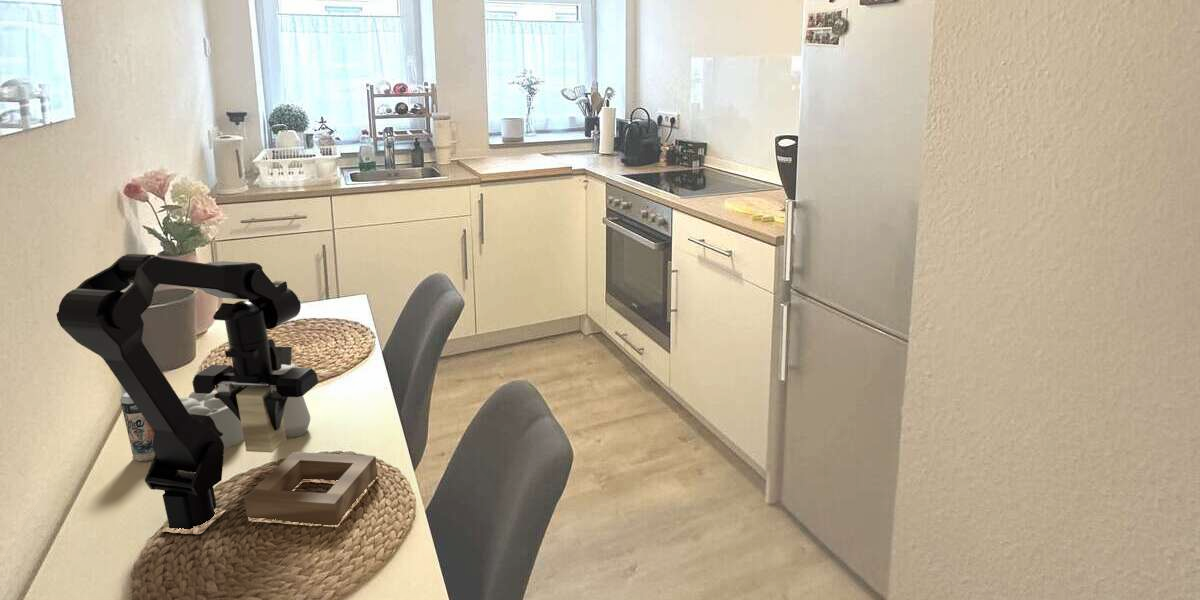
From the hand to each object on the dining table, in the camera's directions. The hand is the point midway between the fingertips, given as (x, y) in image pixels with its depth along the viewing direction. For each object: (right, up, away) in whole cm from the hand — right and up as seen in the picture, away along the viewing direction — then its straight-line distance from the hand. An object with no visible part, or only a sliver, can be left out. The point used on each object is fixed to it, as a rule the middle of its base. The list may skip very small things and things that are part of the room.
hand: (263, 428), depth 132 cm
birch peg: (0, -3, +1) cm, 3 cm away
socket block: (+12, -9, -9) cm, 17 cm away
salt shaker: (0, -3, +14) cm, 14 cm away
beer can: (-22, -6, +6) cm, 24 cm away
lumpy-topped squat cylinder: (-15, -4, +11) cm, 19 cm away
